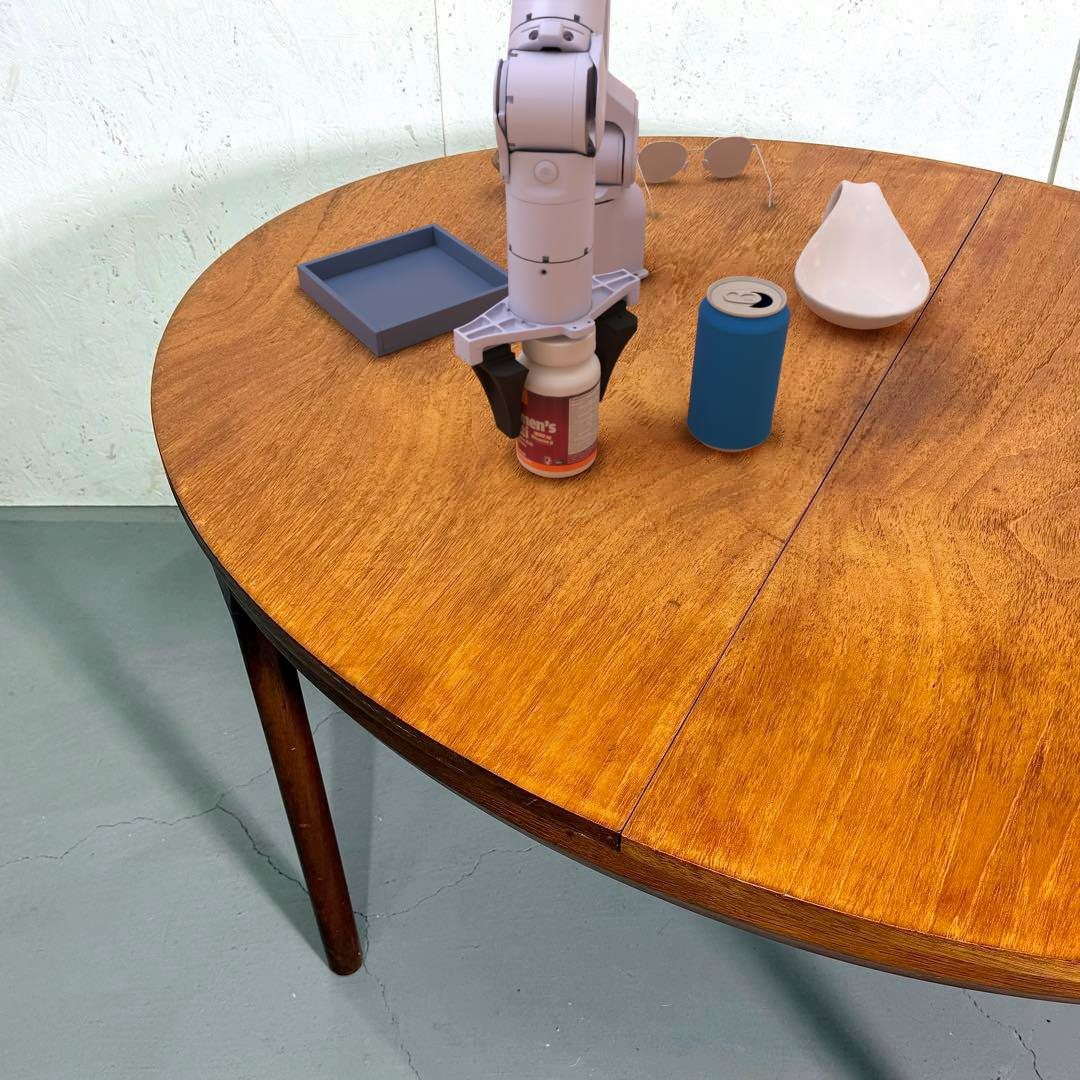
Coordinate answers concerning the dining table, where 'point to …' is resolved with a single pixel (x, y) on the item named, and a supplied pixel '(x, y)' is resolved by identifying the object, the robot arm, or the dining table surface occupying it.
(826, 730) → the dining table surface
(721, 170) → the sunglasses
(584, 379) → the pill bottle
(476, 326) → the robot arm
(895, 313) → the spoon rest
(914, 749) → the dining table surface
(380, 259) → the slate tray
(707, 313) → the beverage can
